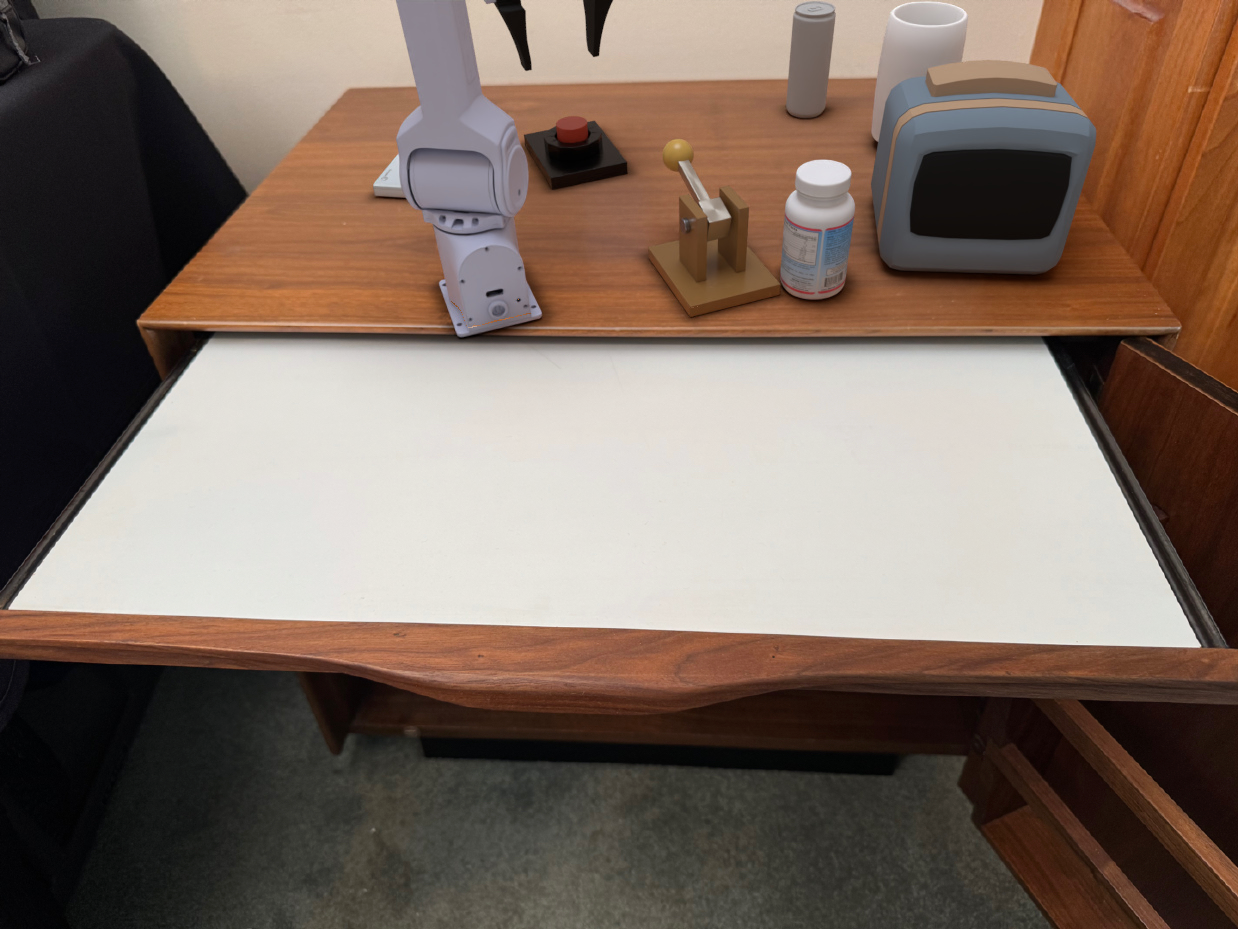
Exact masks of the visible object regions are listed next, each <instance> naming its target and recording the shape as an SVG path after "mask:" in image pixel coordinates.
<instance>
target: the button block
mask: <svg viewBox="0 0 1238 929" xmlns="http://www.w3.org/2000/svg"><path fill="white" fill-rule="evenodd" d="M587 125H588V138H587V139H585V140H584V141H580V142H575V143H564V142H561V141H558V139H557V130H556V125H555V126H553V127H551V128H549V129H546V130H540V131H535V132H531V133H525V134H523V140H524V146H525V148H526V149H527V150H528V152H529V154H530V156H531V157H532V160H533V161H534V163H535V164H536V166H537V167H538V169H539V170H540V172H541V174H542V176H543V177H544V178H545V180H546V182H547V184H548V185H549V187H550V188H551V190H556V189H560V188H567V187H570V186H575V185H579V184H584V183H590V182H593V181H598V180H604V179H607V178H608V179H609V178H613V177H618V176H622V175H626V174H628V173H629V171H628V169H629V168H628V161H627V159H626V158H625V157H624V156H623V155H622V153H621V152H620V151H619V149H618V148H617V147H616V146H615V144H614V143H613V142H612V141H611V139H610V138H609V137H608V135H607V134H606V133H605V132H604V131H603V129H602V128H601V126H600V125H599V124H598V123H597V121H596V120H591V121H590V120H589V121H587Z"/></svg>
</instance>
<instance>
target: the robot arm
mask: <svg viewBox="0 0 1238 929" xmlns="http://www.w3.org/2000/svg"><path fill="white" fill-rule="evenodd" d="M483 2H484V3H485V4H486V5H490V4H493V5H494V6H495V8H496V10H497V11H498V13H499V14H500V17H501V18H502V20H503V23H505V26H506V27H507V29H508V31H509V35H510V36H511V38H512V41H513V44H514V46H515V49H516V51H517V54H518V57H519V62H520V65H521V67H522V69H523V70H524V71H525V72H528V71H529V72H530V71H532V70H533V66H532V58H531V52H530V48H529V42H528V32H527V10H526V8H524V7H523V5H522V0H483ZM582 2H583V3H582V4H583V12H584V20H585V21H584V23H585V38H586V39H585V41H586V48H587V52H589V54H590V55H591V56H592V58H595V57H596V58H597V57H599V56H600V53H601V52H600V51H601V42H602V36H603V31H604V27H605V25H606V24H605V23H606V20H607V17H608V14H609V11H610V10H611V6H612V4H613V2H614V0H582ZM395 3H396V7H397V11H398V16H399V19H400V24H401V28H402V34H403V38H404V42H405V45H406V50H407V53H408V58H409V62H410V67H411V71H412V76H413V79H414V83H415V88H416V93H417V95H418V96H417V97H418V100H419V104H420V105H418V106H417V107H416V108H415V109H414V110H413V111H412V112H411V113H410V114H409V115H408V116H407V117H406V118H405V119H404V120H403V122H402V123H401V125H400V126H399V129H398V132H397V134H396V137H395V141H396V146H397V152H398V153H399V162H400V163H399V177H400V184H401V188H402V191H403V194H404V196H405V197H406V198H405V199H406V201H407V202H408V204H409V205H410V207H412V208H413V209H414V210H416V211H421V213H422V219H423V222H424V223H427V224H431V225H432V228H433V233H434V237H435V242H436V246H437V251H438V255H439V259H440V264H441V268H442V273H443V278H444V279H441V280H440V281H439V282H438V286H439V289H440V292H441V295H442V297H443V299H444V302H445V305H446V308H447V311H448V314H449V318H450V319H451V322H452V326H453V328H454V330H455V331H454V332H455V333H456V336H457V337H459V338H464V337H469V336H474V335H478V334H482V333H486V332H489V331H494V330H498V329H502V328H506V327H510V326H514V325H519V324H523V323H528V322H531V321H535V320H539V319H541V318H542V317H543V312H542V310H541V307H540V306H539V304H538V301H537V299H536V297H535V296H534V292H532V289H531V286H530V285H529V283H528V281H527V278H526V277H527V275H526V270H525V265H524V264H525V263H524V261H523V258H522V256H521V254H520V248H519V241H518V234H517V228H516V221H515V216H516V215H518V213H520V211H521V209H523V207H524V205H525V202H526V200H527V196H528V191H529V177H530V176H529V174H530V173H529V163H528V158H527V155H526V152H525V151H524V149H523V147H522V144H521V141H520V138H519V134H518V129H517V127H516V123H515V122H516V121H515V120H514V118H513V117H512V116H511V115H509V114H508V113H507V112H506V111H504V110H503V109H502V108H500V107H499V106H498V105H497V104H495V103H494V102H492V101H491V100H490V99H488V98H487V97H486V96H485V95H484V94H483V90H482V85H481V78H480V73H479V67H478V62H477V57H476V51H475V46H474V39H473V34H472V29H471V23H470V19H469V18H470V16H469V12H468V6H467V1H466V0H395ZM398 153H397V154H398ZM518 299H519V300H518ZM451 301H452V302H453V303H455V305H457V306H458V307H459V309H460V310H461V311H460V310H459V309H458V307H456V306H455V305H454V304H453V303H452V302H451ZM461 312H462V313H461ZM526 313H531V314H527V315H523V314H526ZM462 314H463V315H462ZM517 315H522V316H518V317H515V316H517ZM463 317H464V318H463ZM509 317H514V318H510V319H506V320H502V321H497V322H493V323H489V324H485V323H488V322H491V321H494V320H499V319H505V318H509ZM464 320H465V321H464ZM482 324H485V325H482ZM466 325H467V326H466ZM473 325H481V326H477V327H473V328H468V327H472V326H473Z"/></svg>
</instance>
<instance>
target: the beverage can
mask: <svg viewBox="0 0 1238 929" xmlns="http://www.w3.org/2000/svg"><path fill="white" fill-rule="evenodd" d="M836 16H837V15H836V6H835V5H834V4H833V3H830V2H827V1H819V0H812V1H804V2H800V3H798V4H797V5H796V6H795V7H794V12H793V15H792V25H791V26H792V27H791V38H790V39H791V40H790V52H789V64H788V77H787V78H788V79H787V88H786V100H785V101H786V102H785V108H786V111H787V112H788V113H789V114H790V115H791V116H793V117H795V118H800V119H812V118H816V117H818V116H820V115H821V114H822V113H823V112H824V110H825V109H826V104H827V96H828V87H829V86H828V85H829V77H830V69H831V60H832V53H833V52H832V51H833V44H834V43H833V42H834V34H835V24H836Z"/></svg>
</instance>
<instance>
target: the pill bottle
mask: <svg viewBox="0 0 1238 929" xmlns="http://www.w3.org/2000/svg"><path fill="white" fill-rule="evenodd" d="M851 170H852V169H850V167H849V166H848V165H846V164H844V163H843V162H840V161H836V160H831V159H814V160H810V161H807V162H804V163H803V164H801V165H800V166H798V168H797V169H796V172H795V181H794V187H795V189H794V190H793V191H792V192H791V193H790V194H789V196H788V197H787V199H786V202H785V207H784V219H783V232H782V244H781V245H782V247H781V260H780V270H779V271H780V272H779V273H780V274H779V280H780V284H781V286H782V287H783V288H784V289H785V290H786V292H788V294H790V295H792V296H794V297H796V298H800V299H803V300H804V299H805V300H823V299H828V298H830V297H833V296H835V295H837V294H838V293H840V291H842V289H843V288H844V286H845V284H846V278H847V271H848V264H849V256H850V249H851V242H852V235H853V229H854V228H853V227H854V220H855V214H856V203H855V200H854V198H853V196H852V194H850V192H849V190H850V188H851V183H852V182H851V180H852V171H851Z"/></svg>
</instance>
